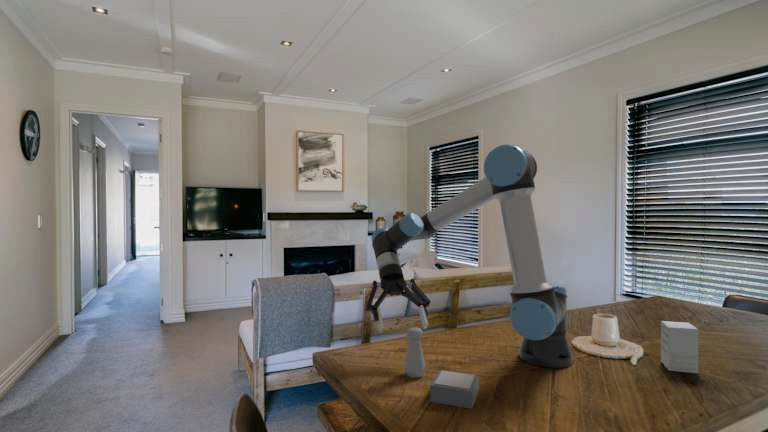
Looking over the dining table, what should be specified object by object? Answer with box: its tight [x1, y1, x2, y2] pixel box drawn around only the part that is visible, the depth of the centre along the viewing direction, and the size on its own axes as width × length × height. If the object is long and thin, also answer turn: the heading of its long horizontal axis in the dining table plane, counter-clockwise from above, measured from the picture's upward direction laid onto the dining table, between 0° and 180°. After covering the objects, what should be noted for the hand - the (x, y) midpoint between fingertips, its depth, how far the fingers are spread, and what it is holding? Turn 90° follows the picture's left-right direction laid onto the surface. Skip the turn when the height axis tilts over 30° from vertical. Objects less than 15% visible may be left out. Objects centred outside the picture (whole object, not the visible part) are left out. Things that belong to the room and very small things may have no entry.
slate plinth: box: [429, 369, 480, 410], centre depth 102 cm, size 10×10×4 cm
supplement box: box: [660, 320, 700, 374], centre depth 120 cm, size 7×7×13 cm
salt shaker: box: [403, 326, 426, 379], centre depth 115 cm, size 6×6×13 cm
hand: (404, 328), depth 121 cm, fingers open, 13 cm apart
